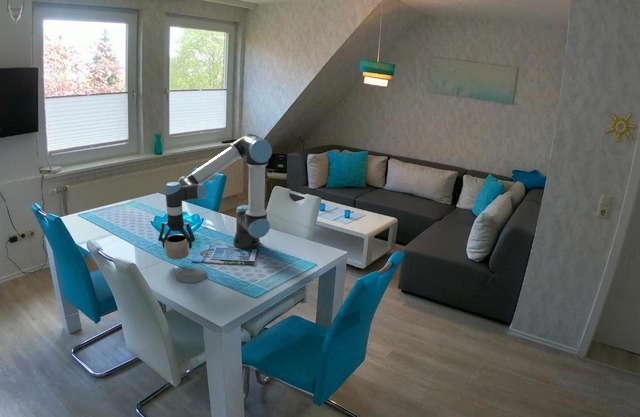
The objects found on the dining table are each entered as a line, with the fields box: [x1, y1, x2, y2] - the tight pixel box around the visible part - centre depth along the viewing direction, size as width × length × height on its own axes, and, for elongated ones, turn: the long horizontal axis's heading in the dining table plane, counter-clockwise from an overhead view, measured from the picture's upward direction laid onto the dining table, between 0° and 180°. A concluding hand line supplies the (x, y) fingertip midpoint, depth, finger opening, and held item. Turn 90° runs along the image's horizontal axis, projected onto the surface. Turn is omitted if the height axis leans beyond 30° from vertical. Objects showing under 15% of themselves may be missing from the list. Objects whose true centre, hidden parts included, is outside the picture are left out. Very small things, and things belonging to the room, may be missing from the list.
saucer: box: [174, 267, 208, 284], centre depth 247 cm, size 15×15×1 cm
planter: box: [165, 233, 189, 260], centre depth 255 cm, size 11×11×10 cm
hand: (177, 253), depth 256 cm, fingers closed on planter, 11 cm apart
